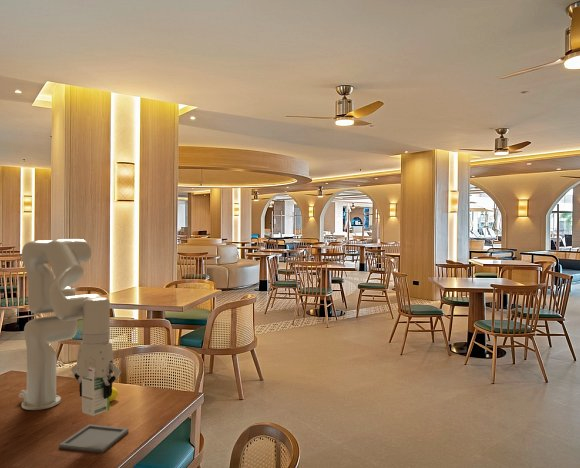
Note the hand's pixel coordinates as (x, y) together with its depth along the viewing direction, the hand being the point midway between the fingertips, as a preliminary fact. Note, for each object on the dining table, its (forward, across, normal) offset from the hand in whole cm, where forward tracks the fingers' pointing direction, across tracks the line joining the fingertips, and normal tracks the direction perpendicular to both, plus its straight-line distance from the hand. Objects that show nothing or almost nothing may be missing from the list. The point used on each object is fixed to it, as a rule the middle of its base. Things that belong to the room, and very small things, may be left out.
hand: (95, 395), depth 138 cm
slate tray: (+14, 0, 0) cm, 14 cm away
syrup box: (+5, 0, 0) cm, 5 cm away
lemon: (+14, -14, +29) cm, 35 cm away
